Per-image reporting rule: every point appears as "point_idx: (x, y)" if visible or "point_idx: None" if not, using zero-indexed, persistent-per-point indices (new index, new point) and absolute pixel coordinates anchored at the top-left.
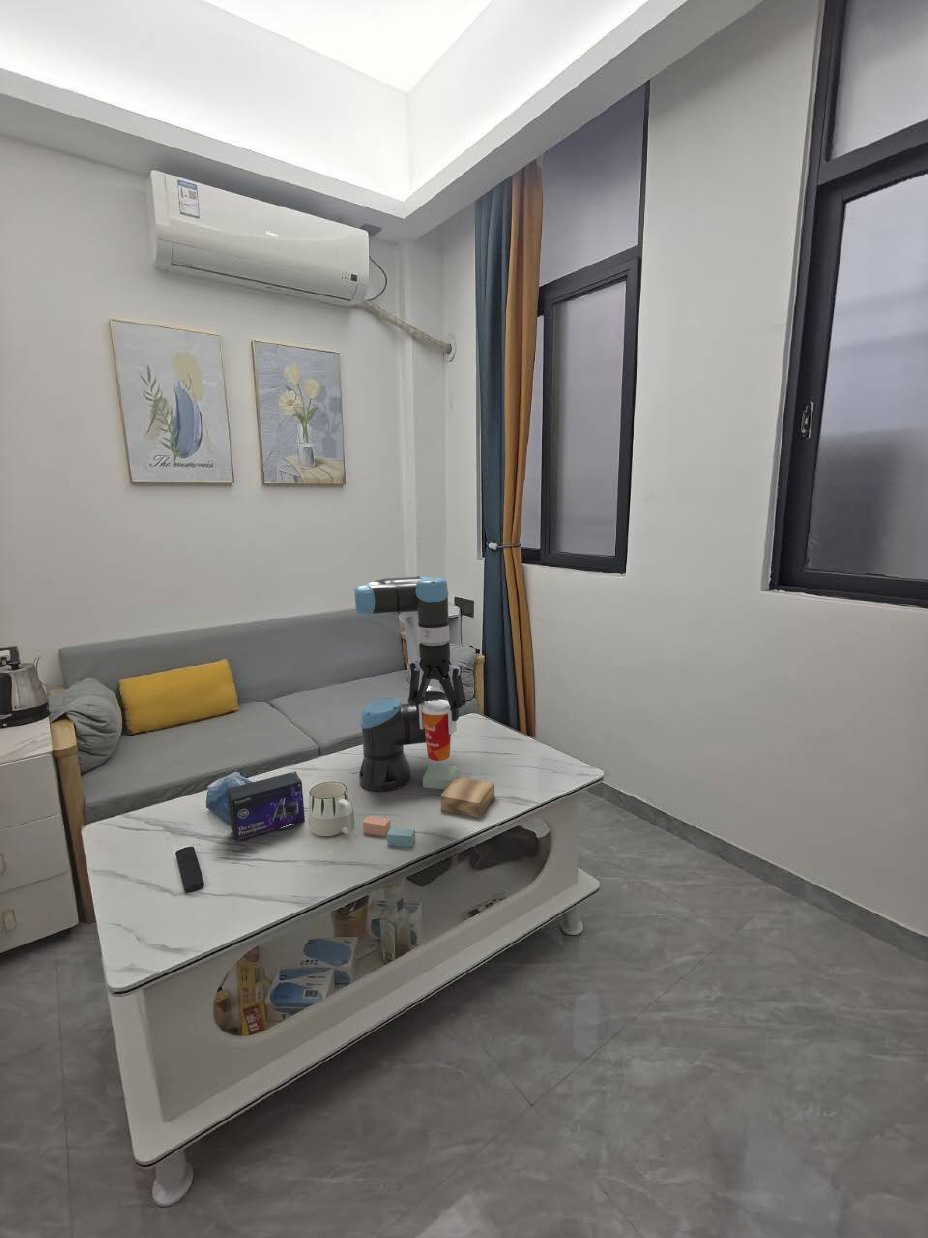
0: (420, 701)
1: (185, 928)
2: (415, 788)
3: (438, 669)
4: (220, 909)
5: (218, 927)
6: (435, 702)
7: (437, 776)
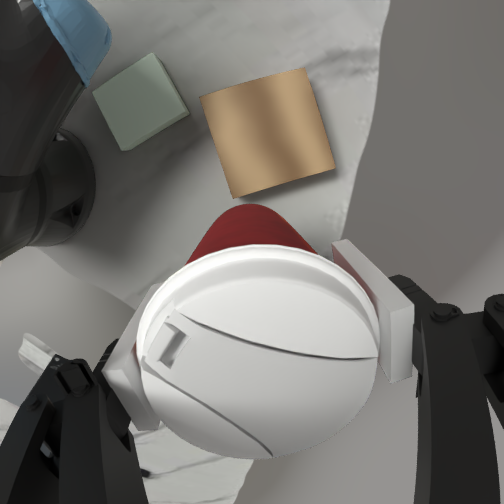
0: (124, 426)
1: (197, 492)
2: (120, 165)
3: None
4: (195, 477)
5: (218, 484)
6: (218, 374)
7: (145, 120)
